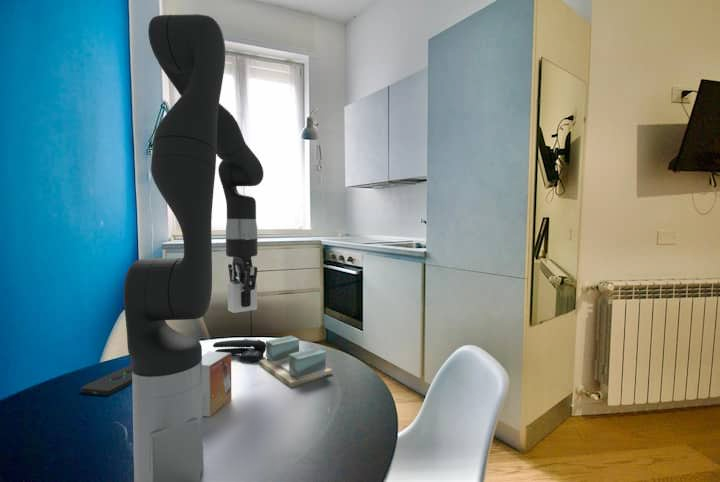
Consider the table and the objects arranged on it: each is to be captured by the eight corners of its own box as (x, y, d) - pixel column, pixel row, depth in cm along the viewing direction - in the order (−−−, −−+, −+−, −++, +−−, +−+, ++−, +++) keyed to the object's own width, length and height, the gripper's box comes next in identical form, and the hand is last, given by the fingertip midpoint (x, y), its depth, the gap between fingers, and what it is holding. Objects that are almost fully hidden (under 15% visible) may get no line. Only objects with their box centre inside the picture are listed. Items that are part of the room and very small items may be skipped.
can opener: (271, 356, 104) (271, 337, 103) (257, 364, 97) (257, 345, 97) (222, 350, 109) (222, 332, 109) (206, 357, 102) (206, 339, 102)
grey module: (257, 309, 88) (256, 280, 88) (233, 313, 84) (233, 283, 84) (250, 306, 91) (250, 279, 91) (227, 310, 87) (227, 281, 87)
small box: (210, 418, 69) (209, 366, 69) (185, 415, 70) (184, 363, 70) (232, 398, 77) (232, 352, 77) (210, 396, 78) (209, 350, 78)
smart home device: (78, 387, 80) (147, 356, 100) (79, 394, 80) (147, 362, 100) (109, 390, 78) (172, 358, 98) (109, 397, 78) (172, 364, 98)
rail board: (332, 374, 90) (331, 350, 90) (290, 387, 82) (290, 361, 82) (297, 354, 104) (297, 334, 104) (259, 364, 96) (259, 342, 96)
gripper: (217, 237, 90) (218, 302, 91) (237, 237, 79) (237, 312, 80) (245, 237, 95) (246, 299, 95) (267, 237, 84) (268, 307, 85)
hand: (242, 304), depth 88 cm, fingers closed on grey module, 4 cm apart
